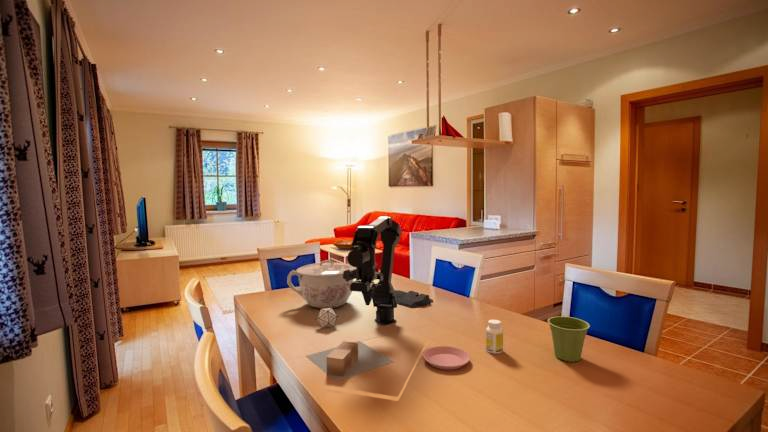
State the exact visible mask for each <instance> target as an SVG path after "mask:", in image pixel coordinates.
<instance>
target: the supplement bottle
mask: <svg viewBox="0 0 768 432" xmlns="http://www.w3.org/2000/svg"><path fill="white" fill-rule="evenodd" d="M487 324H488V325H487V327H486V329H485V350H486V351H487V352H488V353H489V354H495V355H496V354H502V353H503V352H504V329H503V328H502V327H501V326H502V321H500V320H498V319H489V320H488V322H487Z"/></svg>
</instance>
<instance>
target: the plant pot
mask: <svg viewBox="0 0 768 432" xmlns="http://www.w3.org/2000/svg"><path fill="white" fill-rule="evenodd" d="M547 323H548V324H549V329H550V331H551V339H552V344H553V351H554V356H555V357H556V358H557V359H558V358H559V359H558V360H560V359H561V361H562V360H563V361H564V362H567V361H569V362H568V363H576V362H575V361H577V362H579V361H580V360H581V357H582V352H583V348H584V343H585V339H586V335H587V333H588V330H589V329H590V327H591V325H590V323H588V322H587V321H585V320H583V319H580V318H577V317H571V316H564V315H563V316H561V315H559V316H557V315H556V316H552V317H549V318H548V319H547Z"/></svg>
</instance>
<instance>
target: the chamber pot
mask: <svg viewBox="0 0 768 432" xmlns="http://www.w3.org/2000/svg"><path fill="white" fill-rule="evenodd" d="M348 269H349V270H353V269H356V267H353V266H351V265H350V264H349V263H346V262H336V261H335V262H333V261H331V260H330V259H325V260H322V261H321V262H317V263H310V264H305V265H303V266H300V267H298V268H297V269H296V270H295V269H293V270H291V271H290V272H289V273H288V275H287V276H286V277H287V278H286V279H287V280H286V283H287V285H288V286H289V287H290V289H291V291H292V290H293V291H294V292H295V293H297V294H298V295H300V297H301V298H302V299H303V300H304V301H305V302H306V303H307V304H308V306H309V307H312V308H316V309H319V307H320V308H321V309H324V308H331V307H332V306H333V308H332V309H334V308H338V307H340V306H343V305H344V304H346V303H347V302H348V300H349V298H350V296H352V292H353V291H350V284H351V283H352V282H354V281H355V279H352V280H349V281H348V282H346V280H345V279H343V272H344V271H345V270H348ZM292 276H297V277H298V282H299V289H298V288H296V287H295V286H294V284H293V283H292Z"/></svg>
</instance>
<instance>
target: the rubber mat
mask: <svg viewBox="0 0 768 432" xmlns="http://www.w3.org/2000/svg"><path fill="white" fill-rule="evenodd" d="M356 342H357V343H358V360H357V361H356V362H355V363H354V364H353V365H352V367H351V368H350V369H349V370H348V371H347V372H346V373H345V375H344V376H337V375H330V374H327V361H326V357H327V356H328V355H329V354H330V353H331V352H332V351H333V350H334V349H335V348H336V347H332V348H329V349H326V350H321V351H319V352H315V353H312V354H308V355H305V358H307V359H308V360H309V361H311V362H312V363H313V364H314V365H315V366H317V367H318V368H319V369H321V370H322V371H323V372H324V373H325V374H327V375H328V377H331V379H333V380H334V381H335V382H339V381H342V380H345V379H348V378H350V377H354V376H357V375H360V374H362V373H366V372H368V371H372V370H375V369H376V368H380V367H383V366H386V365H389V364H391V363H394V362H395V361H394V360H392V359H391V358H390V357H387V356H386V355H384V354H383V353H381V352H379V351H377V350H375V349H374V348H372V347H370V346H369V345H367V344H366V343H364V342H362V341H360V340H357V341H356Z"/></svg>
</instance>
